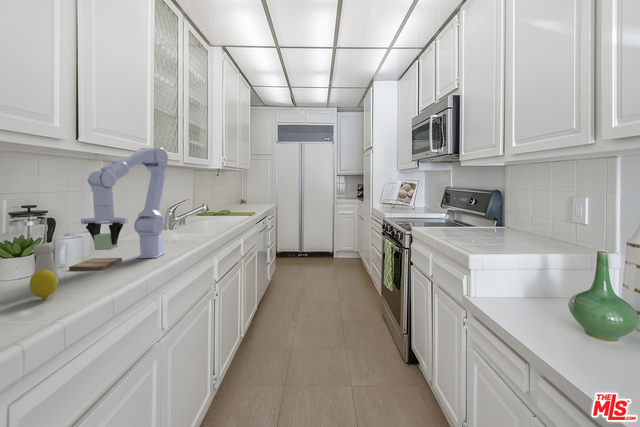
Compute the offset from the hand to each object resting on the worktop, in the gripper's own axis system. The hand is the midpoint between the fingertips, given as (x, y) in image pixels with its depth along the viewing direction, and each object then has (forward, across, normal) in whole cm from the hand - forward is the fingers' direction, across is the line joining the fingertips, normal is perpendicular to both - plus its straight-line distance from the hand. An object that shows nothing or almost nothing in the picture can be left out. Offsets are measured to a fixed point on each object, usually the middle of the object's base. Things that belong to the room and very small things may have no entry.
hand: (106, 244), depth 118 cm
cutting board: (+8, -6, +4) cm, 11 cm away
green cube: (+1, 0, 0) cm, 1 cm away
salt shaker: (+9, -4, -24) cm, 26 cm away
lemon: (+8, +1, -32) cm, 33 cm away
